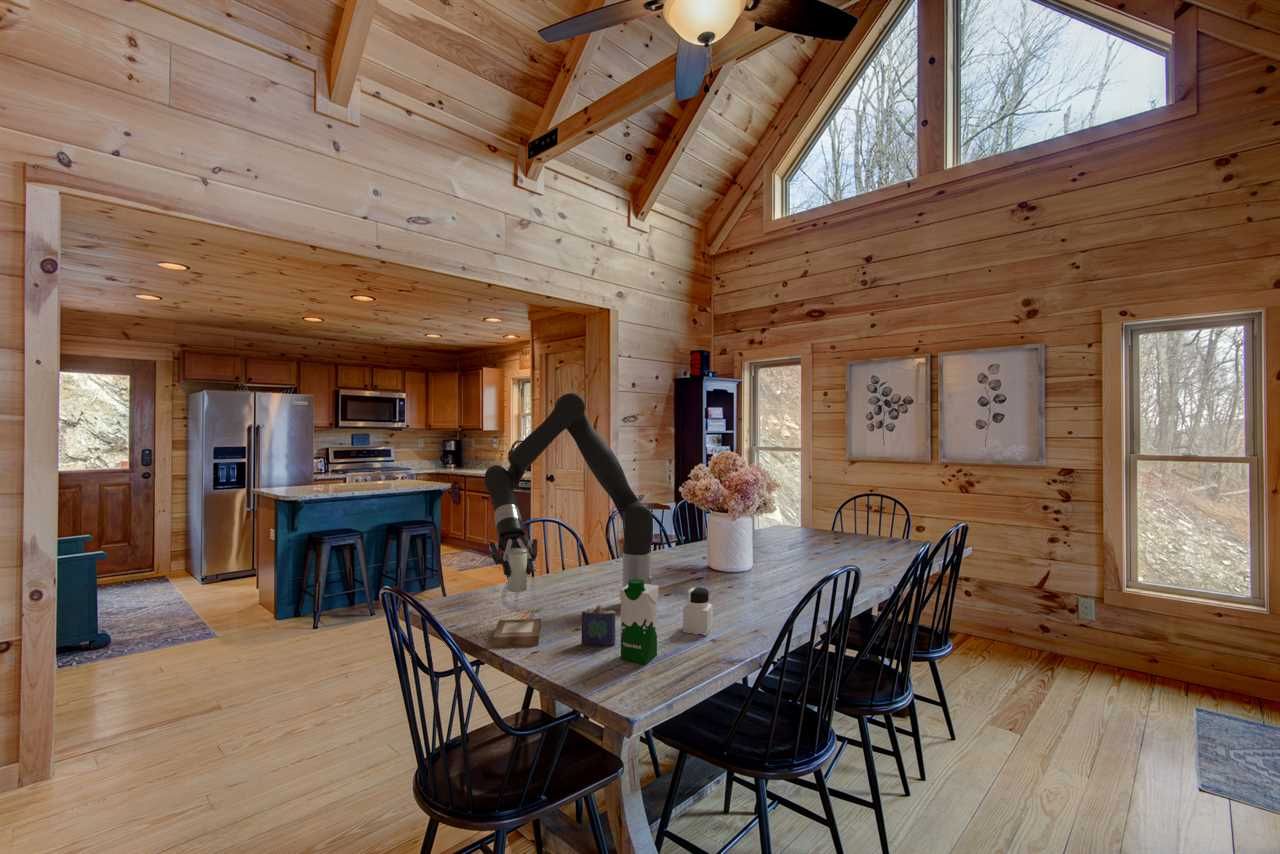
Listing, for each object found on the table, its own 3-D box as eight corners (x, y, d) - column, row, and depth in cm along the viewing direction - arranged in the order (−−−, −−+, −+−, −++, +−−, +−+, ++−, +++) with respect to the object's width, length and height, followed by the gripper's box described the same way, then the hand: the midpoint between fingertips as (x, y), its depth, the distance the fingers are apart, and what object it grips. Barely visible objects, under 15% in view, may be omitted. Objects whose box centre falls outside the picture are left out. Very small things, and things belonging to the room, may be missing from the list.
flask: (615, 643, 161) (615, 603, 160) (614, 647, 158) (615, 607, 157) (582, 642, 161) (582, 603, 161) (580, 646, 158) (580, 606, 158)
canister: (528, 586, 167) (528, 547, 167) (526, 592, 162) (526, 551, 161) (508, 586, 166) (508, 547, 166) (506, 592, 161) (506, 552, 161)
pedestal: (541, 627, 172) (541, 618, 172) (538, 645, 158) (538, 635, 158) (499, 628, 171) (499, 619, 171) (492, 646, 157) (492, 637, 157)
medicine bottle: (712, 627, 173) (712, 586, 173) (707, 636, 166) (707, 593, 166) (688, 625, 175) (689, 584, 175) (682, 633, 168) (682, 591, 168)
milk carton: (615, 661, 148) (616, 581, 148) (631, 648, 156) (631, 573, 156) (647, 667, 145) (648, 585, 144) (662, 654, 153) (662, 577, 153)
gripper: (486, 517, 167) (495, 569, 157) (535, 514, 174) (547, 564, 163) (482, 533, 172) (490, 584, 161) (530, 529, 178) (541, 578, 168)
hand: (519, 574), depth 162 cm, fingers closed on canister, 5 cm apart
